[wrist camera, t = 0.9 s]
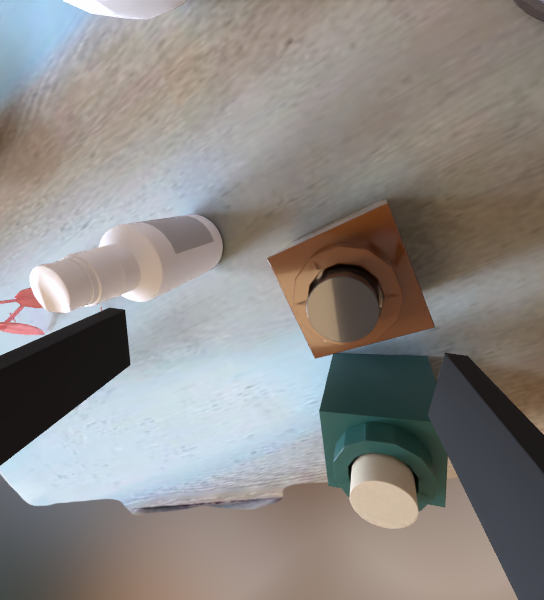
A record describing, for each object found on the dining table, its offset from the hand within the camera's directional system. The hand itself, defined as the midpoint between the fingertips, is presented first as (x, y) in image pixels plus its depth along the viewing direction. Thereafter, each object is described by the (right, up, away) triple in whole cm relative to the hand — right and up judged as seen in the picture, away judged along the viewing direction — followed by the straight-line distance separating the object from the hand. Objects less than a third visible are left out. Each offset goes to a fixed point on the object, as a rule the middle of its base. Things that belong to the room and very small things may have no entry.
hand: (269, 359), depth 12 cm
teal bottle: (+13, -8, +22) cm, 27 cm away
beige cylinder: (+9, -12, +12) cm, 19 cm away
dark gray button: (+6, +3, +10) cm, 11 cm away
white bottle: (-9, +9, +23) cm, 26 cm away
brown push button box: (+9, +6, +18) cm, 21 cm away
